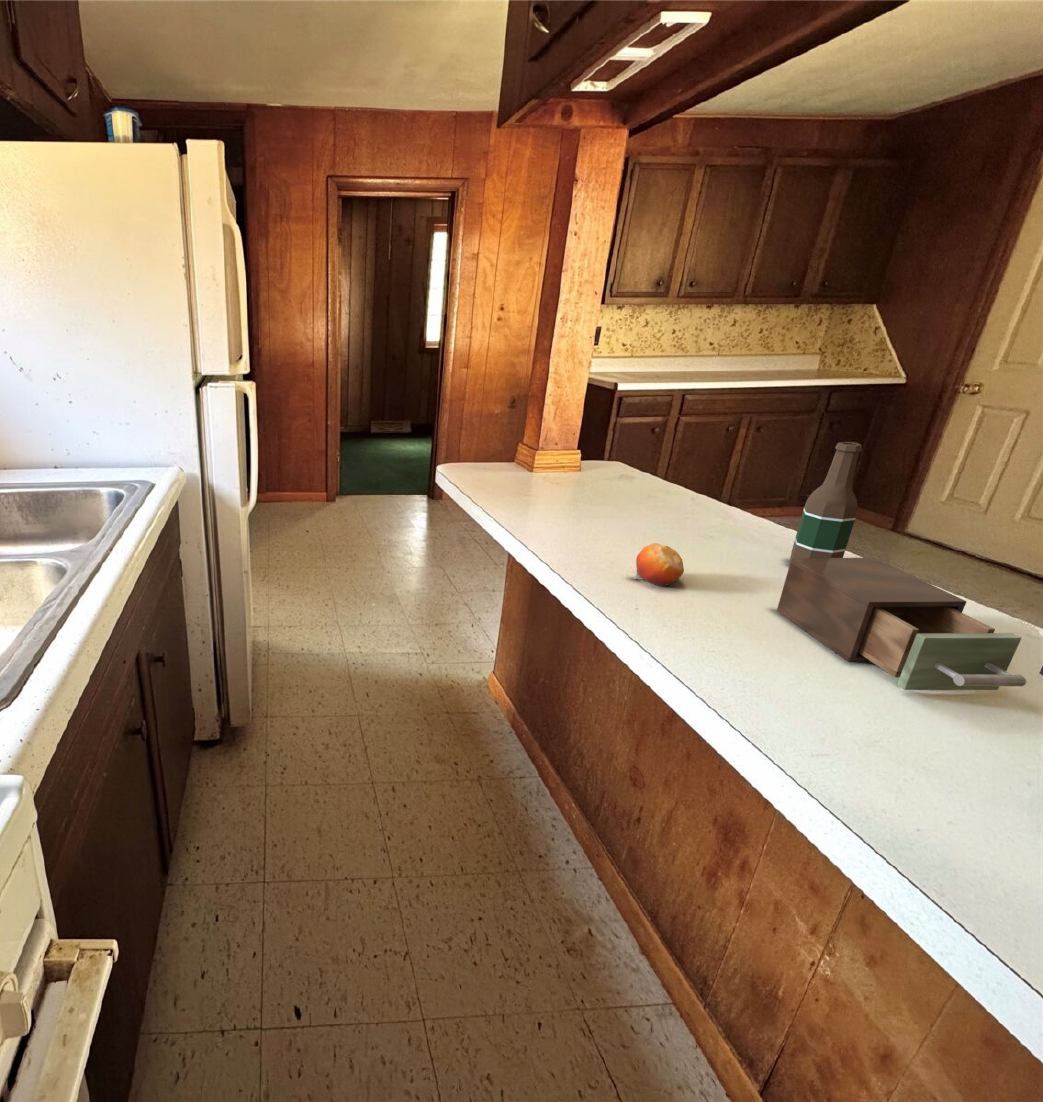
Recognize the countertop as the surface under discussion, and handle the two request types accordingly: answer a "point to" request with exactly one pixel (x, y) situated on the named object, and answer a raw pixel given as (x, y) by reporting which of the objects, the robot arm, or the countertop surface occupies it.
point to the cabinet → (851, 598)
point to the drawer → (939, 649)
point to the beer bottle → (830, 509)
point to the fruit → (659, 564)
